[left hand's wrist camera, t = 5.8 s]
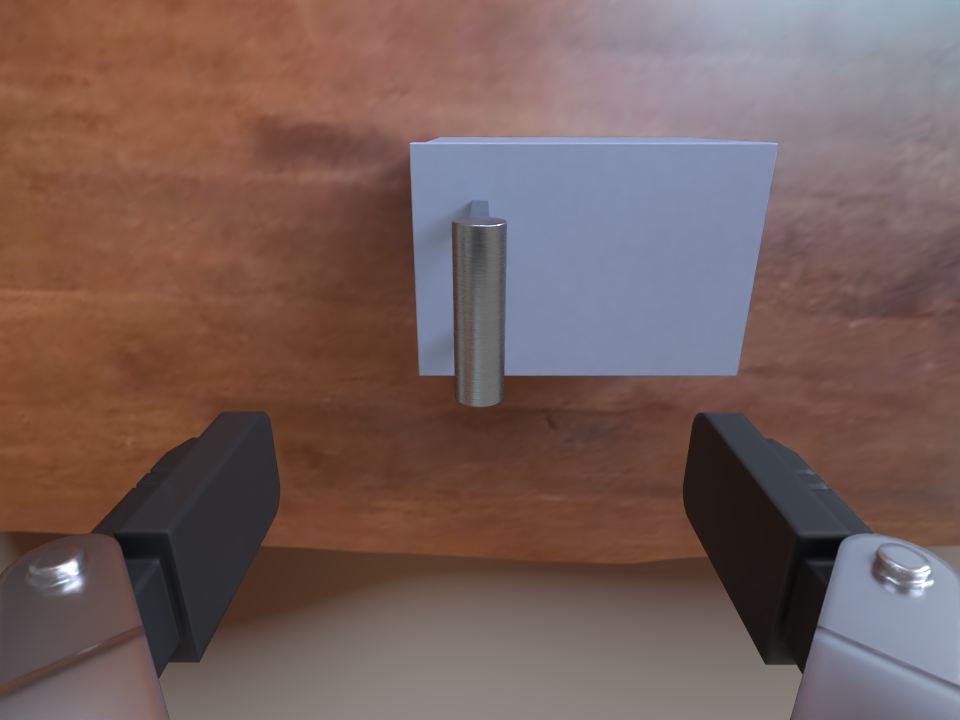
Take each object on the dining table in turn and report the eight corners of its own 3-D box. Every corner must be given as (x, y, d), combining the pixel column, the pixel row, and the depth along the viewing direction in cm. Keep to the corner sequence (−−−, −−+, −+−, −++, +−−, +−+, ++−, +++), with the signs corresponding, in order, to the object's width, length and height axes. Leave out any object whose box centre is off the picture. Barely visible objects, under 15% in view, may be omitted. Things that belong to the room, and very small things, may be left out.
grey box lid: (420, 368, 28) (397, 460, 21) (411, 142, 25) (379, 151, 17) (729, 368, 28) (823, 461, 21) (768, 142, 25) (903, 151, 17)
